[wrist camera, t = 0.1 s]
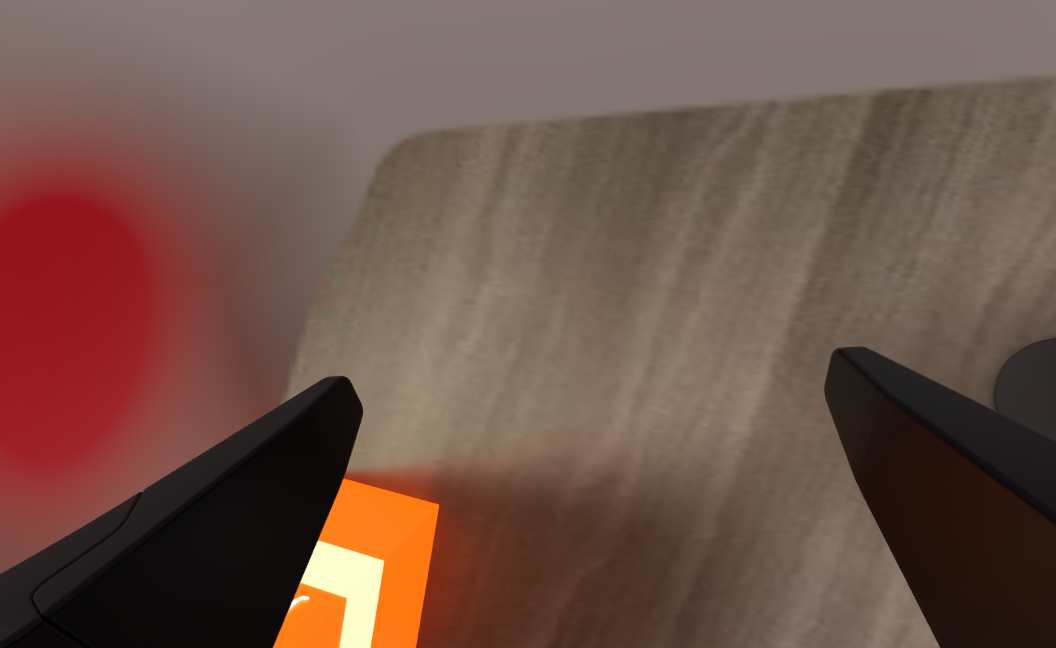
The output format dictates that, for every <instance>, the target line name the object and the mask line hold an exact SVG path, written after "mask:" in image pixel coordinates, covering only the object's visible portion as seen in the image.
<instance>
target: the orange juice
mask: <svg viewBox="0 0 1056 648" xmlns="http://www.w3.org/2000/svg"><path fill="white" fill-rule="evenodd" d="M438 509H439V505H438V504H435V503H431V502H427V501H424V500H420V499H416V498H413V497H409V496H405V495H402V494H398V493H394V492H391V491H387V490H383V489H380V488H376V487H372V486H369V485H365V484H361V483H358V482H354V481H350V480H347V479H343V481H342V484H341V487H340V489H339V492H338V494H337V497H336V499H335V501H334V504H333V506H332V509H331V511H330V513H329V516H328V518H327V521H326V523H325V525H324V528H323V530H322V532H321V535H320V537H319V540H318V542H317V544H316V547H315V549H314V552H313V554H312V556H311V559H310V561H309V563H308V566H307V568H306V571H305V573H304V575H303V578H302V580H301V582H300V585H299V587H298V590H297V592H296V594H295V597H294V599H293V602H292V604H291V606H290V609H289V611H288V613H287V616H286V618H285V621H284V623H283V625H282V628H281V630H280V633H279V635H278V637H277V640H276V642H275V644H274V647H273V648H416V643H417V637H418V631H419V625H420V619H421V613H422V606H423V600H424V594H425V588H426V582H427V576H428V570H429V564H430V558H431V552H432V545H433V539H434V533H435V527H436V521H437V515H438Z"/></svg>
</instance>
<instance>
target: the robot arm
mask: <svg viewBox="0 0 1056 648" xmlns="http://www.w3.org/2000/svg"><path fill="white" fill-rule="evenodd" d="M824 392H825V398H826V402H827V404H828V407H829V410H830V413H831V415H832V418H833V421H834V423H835V426H836V429H837V432H838V434H839V437H840V440H841V443H842V445H843V448H844V451H845V454H846V456H847V459H848V462H849V465H850V467H851V470H852V472H853V475H854V477H855V480H856V482H857V484H858V486H859V488H860V491H861V493H862V495H863V497H864V499H865V501H866V503H867V505H868V507H869V509H870V511H871V513H872V514H873V516H874V518H875V520H876V522H877V524H878V526H879V528H880V530H881V532H882V534H883V536H884V538H885V540H886V542H887V544H888V546H889V548H890V550H891V552H892V554H893V556H894V558H895V560H896V562H897V564H898V566H899V568H900V570H901V572H902V573H903V575H904V577H905V579H906V581H907V583H908V585H909V587H910V589H911V591H912V593H913V595H914V597H915V599H916V601H917V603H918V605H919V607H920V609H921V611H922V613H923V615H924V617H925V619H926V621H927V623H928V625H929V627H930V629H931V631H932V632H933V634H934V636H935V638H936V640H937V642H938V644H939V646H940V648H1056V441H1055V440H1053V439H1051V438H1049V437H1047V436H1045V435H1043V434H1041V433H1039V432H1036V431H1034V430H1032V429H1030V428H1028V427H1026V426H1024V425H1022V424H1020V423H1018V422H1016V421H1014V420H1012V419H1010V418H1008V417H1006V416H1004V415H1002V414H1000V413H998V412H996V411H994V410H992V409H990V408H988V407H986V406H984V405H982V404H980V403H978V402H976V401H974V400H971V399H969V398H967V397H965V396H963V395H961V394H959V393H957V392H955V391H953V390H951V389H949V388H947V387H945V386H943V385H941V384H939V383H937V382H935V381H933V380H931V379H929V378H927V377H925V376H923V375H921V374H919V373H917V372H915V371H913V370H911V369H908V368H906V367H904V366H902V365H900V364H898V363H896V362H894V361H892V360H890V359H888V358H886V357H884V356H882V355H880V354H878V353H876V352H874V351H872V350H870V349H868V348H865V347H845V348H837V349H836V350H834V352H833V353H832V356H831V359H830V364H829V368H828V373H827V377H826V382H825V387H824ZM362 416H363V407H362V404H361V402H360V400H359V398H358V396H357V393H356V391H355V389H354V387H353V385H352V383H351V381H350V380H349V379H348V378H347V377H345V376H332V377H326V378H324V379H322V380H320V381H319V382H317V383H316V384H314V385H312V386H311V387H309V388H308V389H306V390H304V391H303V392H301V393H299V394H298V395H296V396H295V397H293V398H291V399H290V400H288V401H286V402H285V403H283V404H282V405H280V406H278V407H277V408H275V409H274V410H272V411H270V412H269V413H267V414H265V415H264V416H262V417H261V418H259V419H257V420H256V421H254V422H253V423H251V424H249V425H248V426H246V427H244V428H243V429H241V430H240V431H238V432H236V433H235V434H233V435H232V436H230V437H228V438H227V439H225V440H224V441H222V442H220V443H219V444H217V445H215V446H214V447H212V448H210V449H209V450H207V451H206V452H204V453H202V454H201V455H199V456H198V457H196V458H194V459H193V460H191V461H189V462H188V463H186V464H185V465H183V466H181V467H180V468H178V469H176V470H175V471H173V472H172V473H170V474H169V475H167V476H165V477H163V478H162V479H160V480H159V481H157V482H155V483H154V484H152V485H151V486H149V487H147V488H146V489H145V490H144V491H143V492H139V493H138V494H136V495H134V496H133V497H131V498H130V499H128V500H126V501H124V502H123V503H122V504H120V505H118V506H116V507H115V508H113V509H111V510H110V511H108V512H106V513H105V514H103V515H101V516H100V517H98V518H96V519H95V520H93V521H92V522H90V523H88V524H87V525H85V526H83V527H82V528H80V529H78V530H76V531H75V532H73V533H71V534H70V535H68V536H66V537H64V538H63V539H61V540H59V541H57V542H56V543H54V544H52V545H50V546H49V547H47V548H45V549H44V550H42V551H40V552H38V553H37V554H35V555H33V556H31V557H30V558H28V559H26V560H24V561H23V562H21V563H19V564H17V565H16V566H14V567H12V568H10V569H8V570H7V571H5V572H3V573H1V574H0V648H273V647H274V644H275V642H276V640H277V637H278V635H279V633H280V630H281V628H282V625H283V623H284V621H285V618H286V616H287V613H288V611H289V609H290V606H291V604H292V602H293V599H294V597H295V594H296V592H297V590H298V587H299V585H300V582H301V580H302V578H303V575H304V573H305V571H306V568H307V566H308V563H309V561H310V559H311V556H312V554H313V552H314V549H315V547H316V544H317V542H318V540H319V537H320V535H321V532H322V530H323V528H324V525H325V523H326V521H327V518H328V516H329V513H330V511H331V509H332V506H333V504H334V501H335V499H336V497H337V494H338V492H339V489H340V487H341V484H342V481H343V478H344V475H345V472H346V469H347V466H348V463H349V459H350V456H351V453H352V450H353V446H354V443H355V440H356V437H357V433H358V430H359V427H360V423H361V420H362Z"/></svg>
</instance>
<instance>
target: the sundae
mask: <svg viewBox="0 0 1056 648" xmlns="http://www.w3.org/2000/svg"><path fill="white" fill-rule="evenodd" d="M994 402H995V406H996V409H997V412H998V413H1000V414H1002V415H1004V416H1006V417H1008V418H1010V419H1012V420H1014V421H1016V422H1018V423H1020V424H1022V425H1024V426H1026V427H1028V428H1030V429H1032V430H1034V431H1036V432H1039V433H1041V434H1043V435H1045V436H1047V437H1049V438H1051V439H1053V440H1055V441H1056V338H1054V339H1049V340H1044V341H1040V342H1037V343H1034V344H1031V345H1029V346H1027V347H1025V348H1024V349H1022V350H1020V351H1019V352H1018V353H1016V354H1015V355H1014V356H1012V357H1011V358H1010V359H1009V360H1008V361H1007V363H1006V364H1005V365H1004V367H1003V368H1002V370H1001V372H1000V373H999V375H998V377H997V380H996V385H995V392H994Z"/></svg>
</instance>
